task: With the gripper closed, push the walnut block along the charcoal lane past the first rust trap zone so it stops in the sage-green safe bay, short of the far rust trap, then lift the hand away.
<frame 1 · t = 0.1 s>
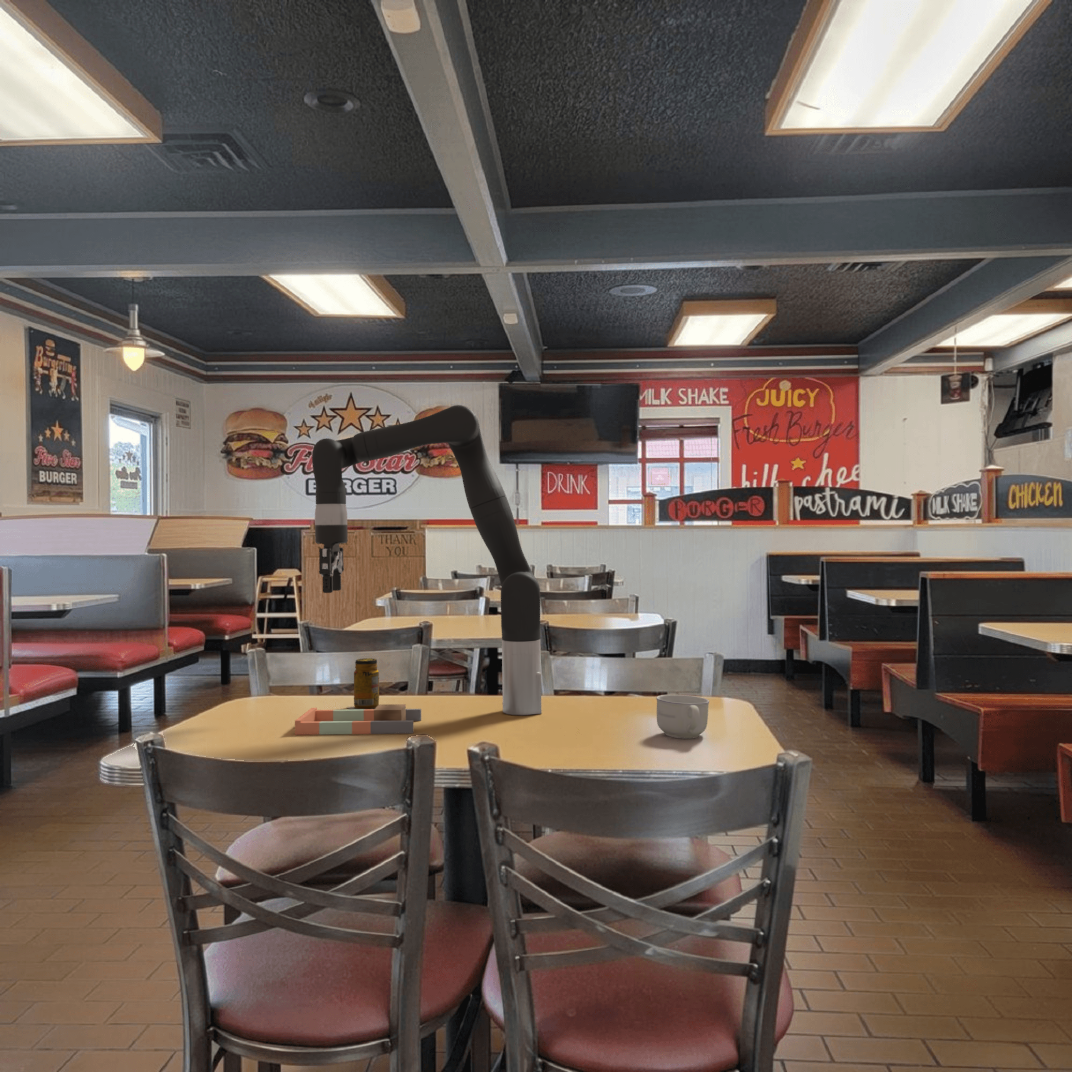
hand: (332, 591, 203), 29 cm above the table, fingers open, 8 cm apart
teacup: (684, 738, 176), on the table
lane: (363, 726, 189), on the table
condiment: (367, 709, 209), on the table
block: (390, 727, 189), on the table
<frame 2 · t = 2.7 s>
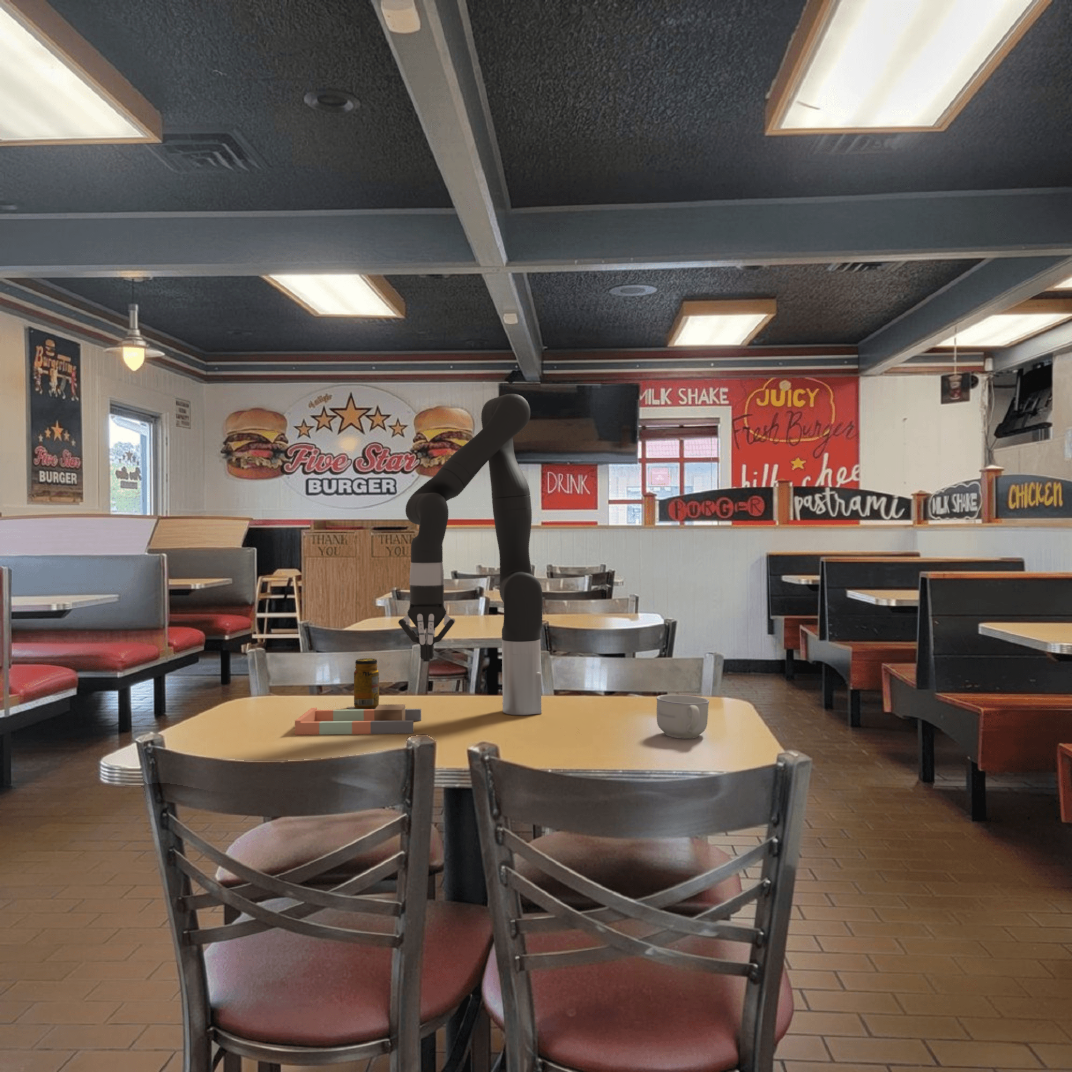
hand: (427, 661, 189), 14 cm above the table, fingers closed
nothing on the table moved.
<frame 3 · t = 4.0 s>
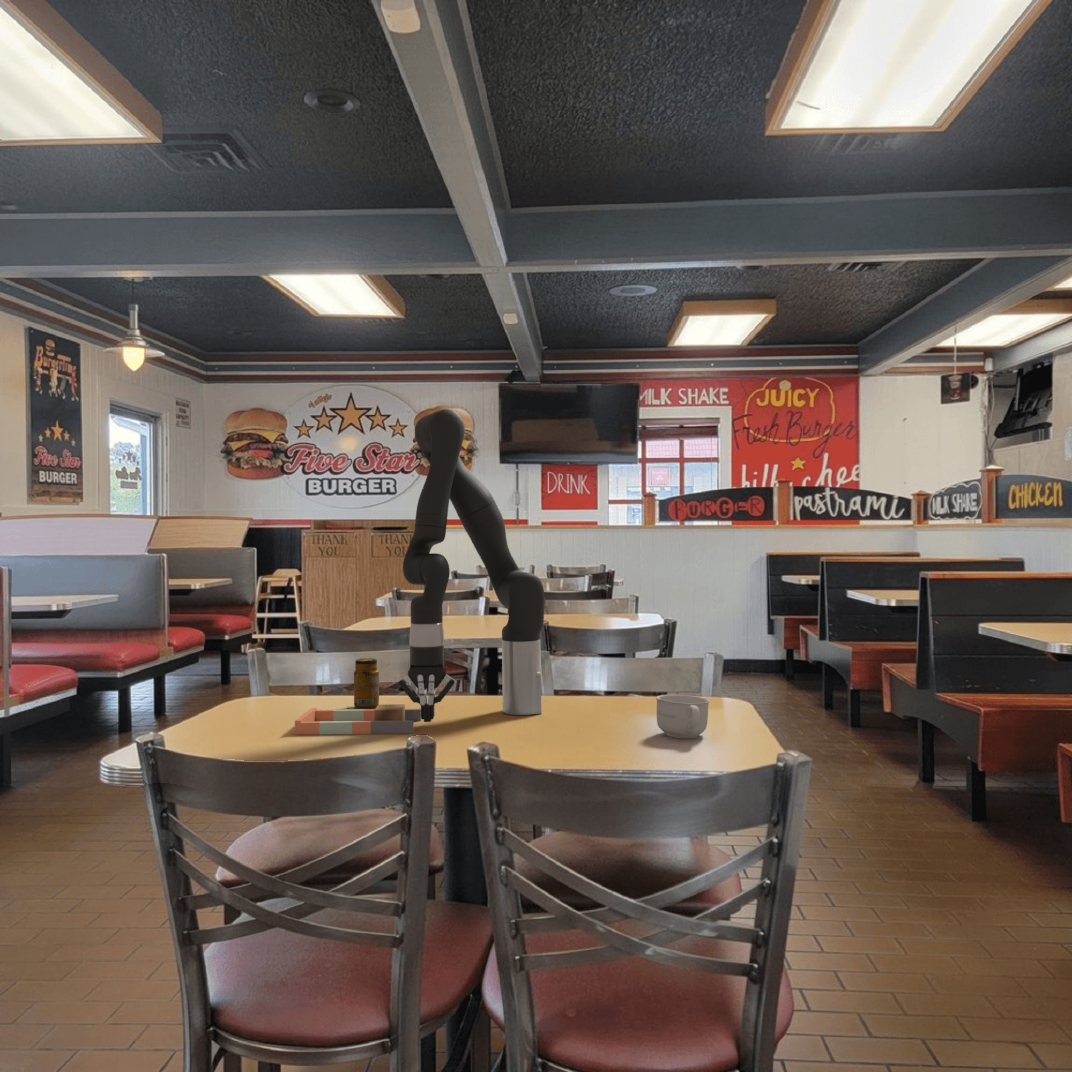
hand: (427, 721, 189), 1 cm above the table, fingers closed
nothing on the table moved.
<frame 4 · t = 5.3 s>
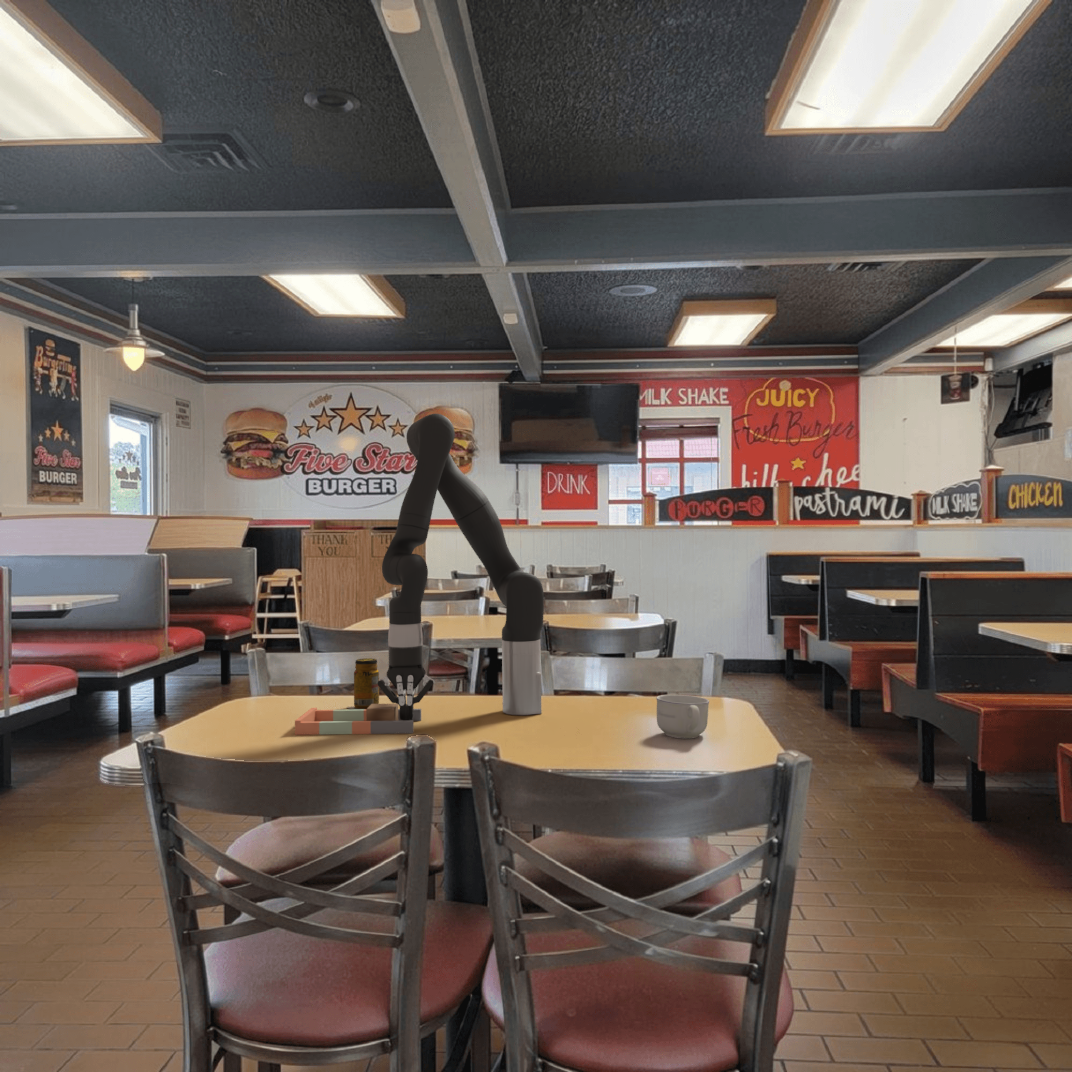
hand: (406, 721, 189), 1 cm above the table, fingers closed
block: (382, 726, 190), on the table, touching gripper
everything else where it was.
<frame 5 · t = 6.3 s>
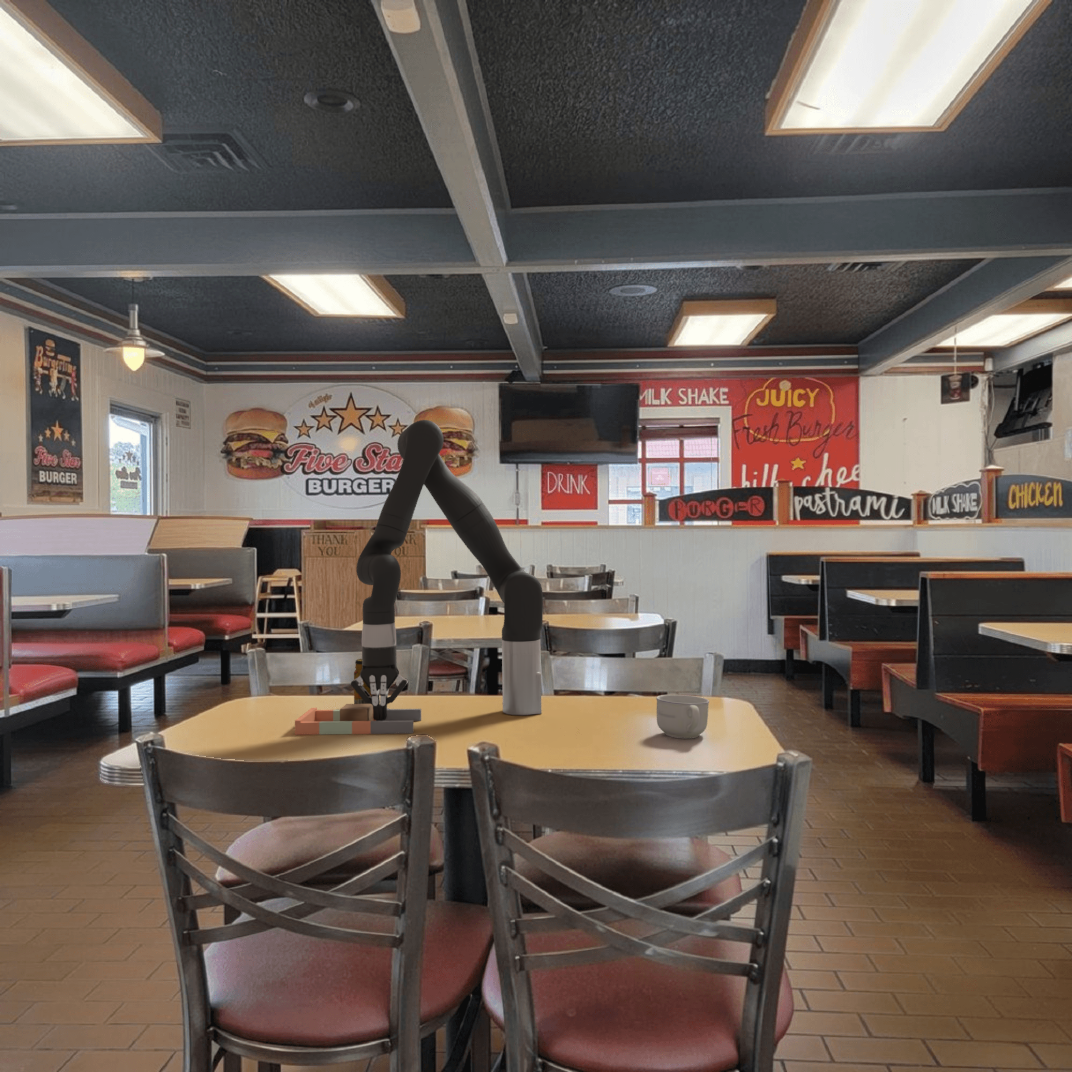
hand: (380, 721, 189), 1 cm above the table, fingers closed
block: (356, 726, 190), on the table, touching gripper
everything else where it was.
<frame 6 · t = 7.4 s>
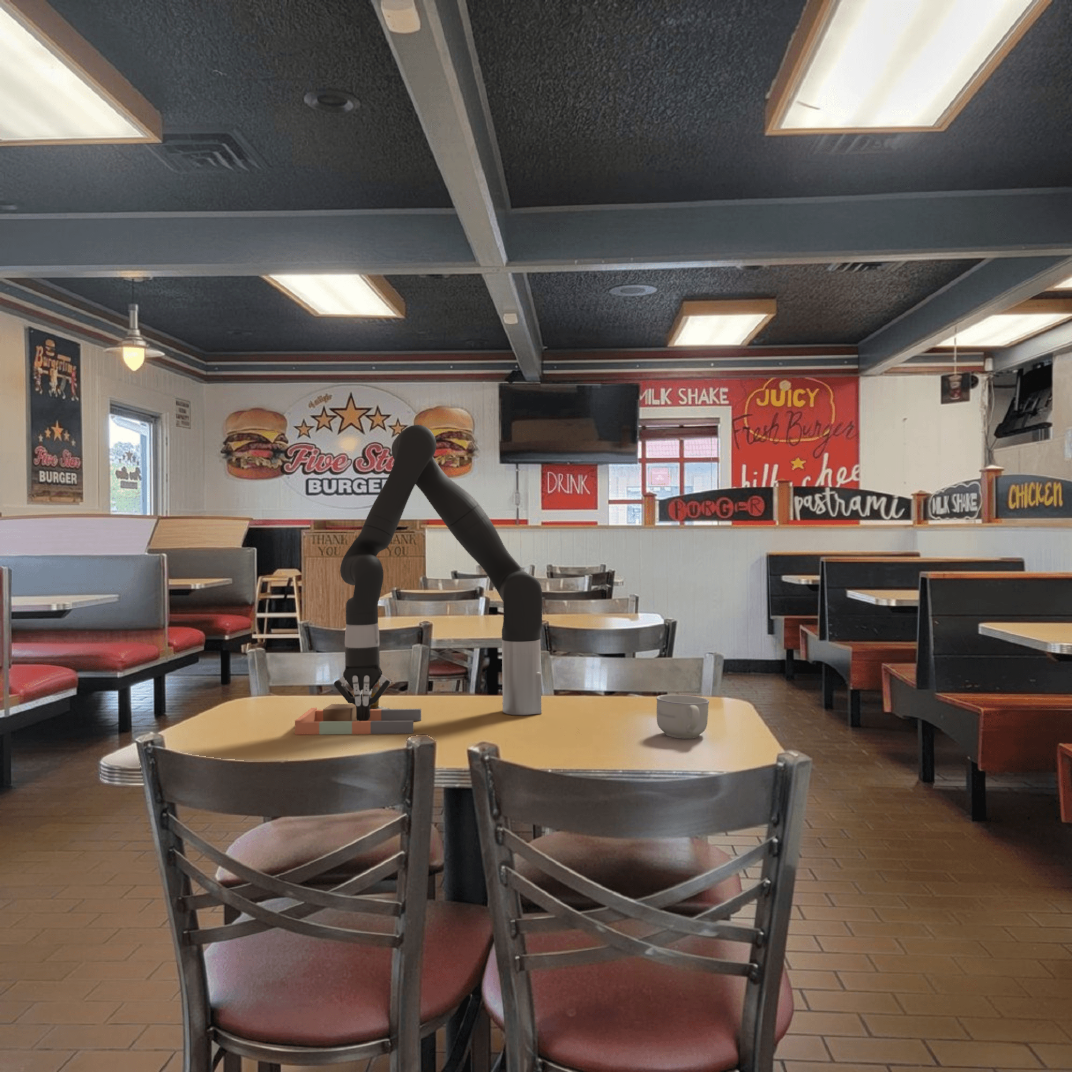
hand: (363, 722, 189), 1 cm above the table, fingers closed
block: (340, 726, 191), on the table, touching gripper
everything else where it was.
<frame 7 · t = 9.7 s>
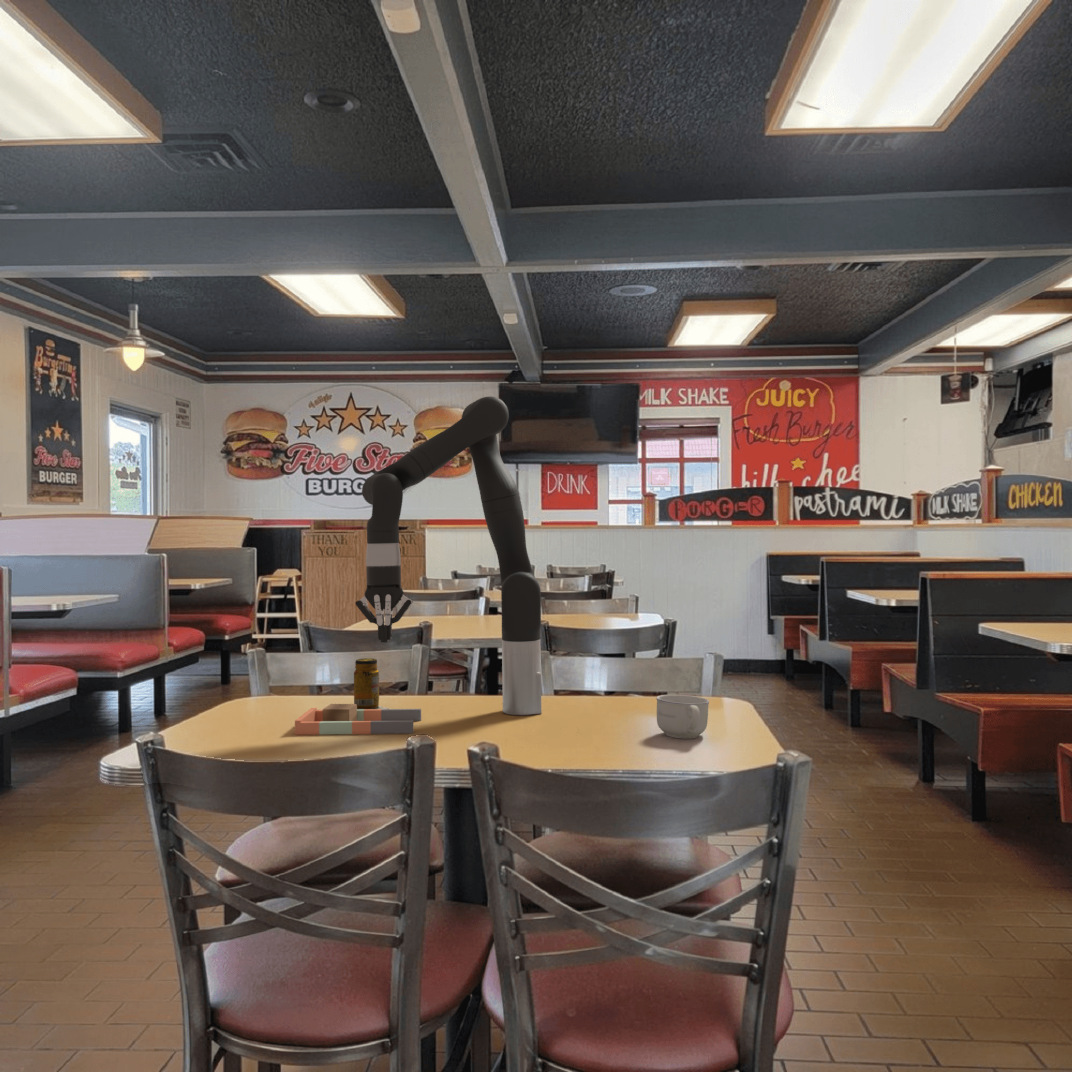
hand: (384, 641, 189), 19 cm above the table, fingers closed
block: (340, 726, 191), on the table
everything else where it was.
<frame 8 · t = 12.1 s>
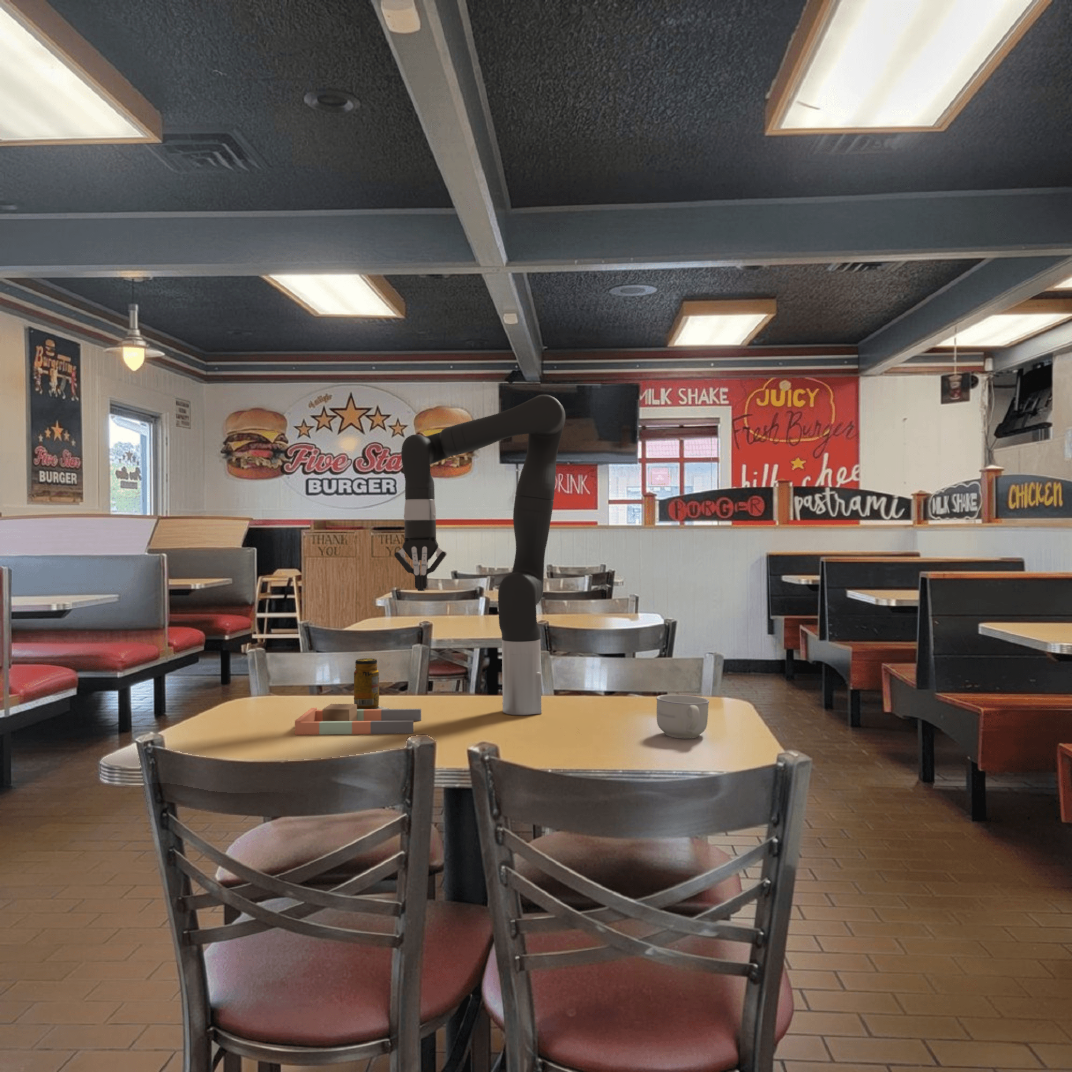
hand: (421, 590, 205), 29 cm above the table, fingers closed
nothing on the table moved.
at the end: block 1.4 cm from the target spot, on the table; block tilted 0° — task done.
